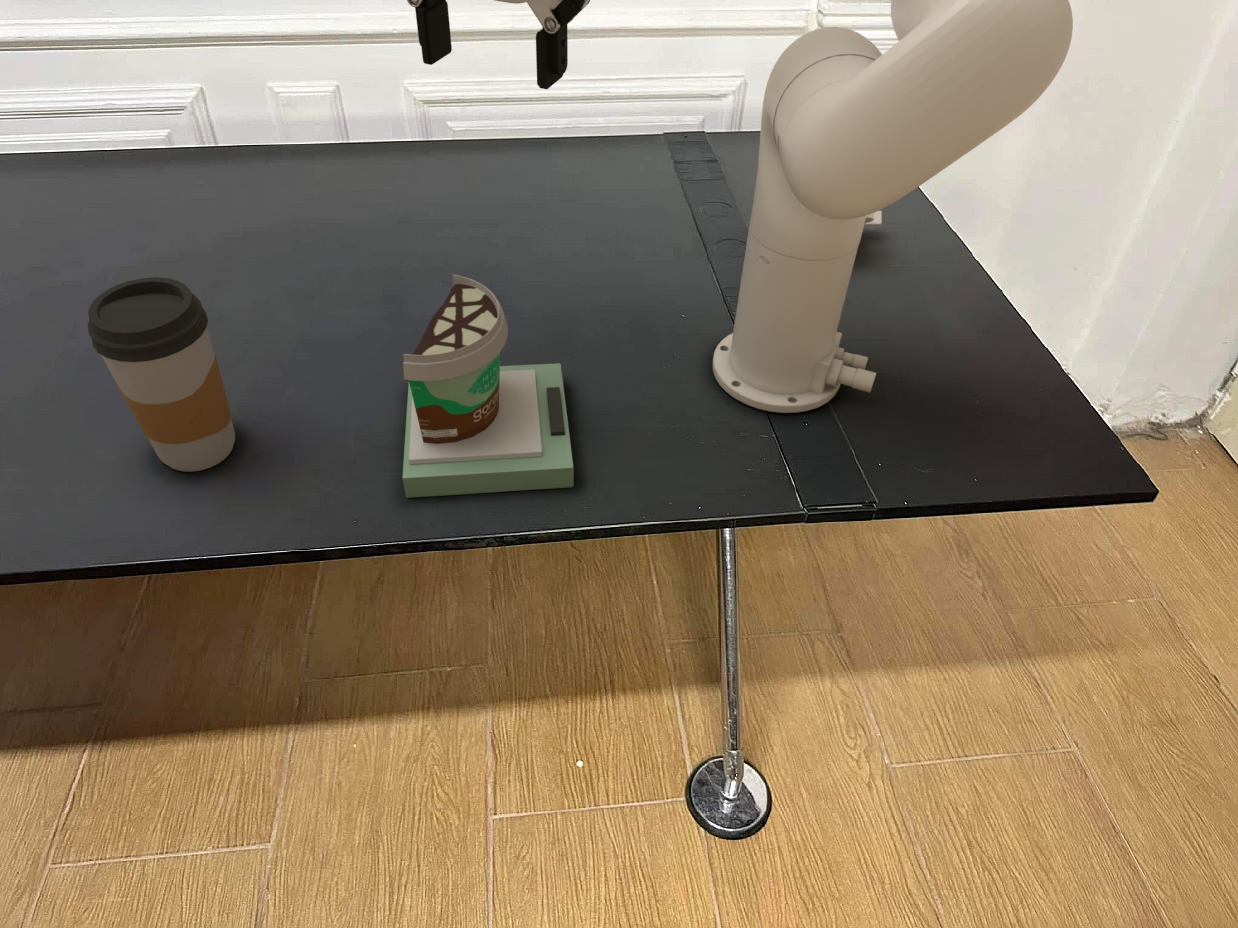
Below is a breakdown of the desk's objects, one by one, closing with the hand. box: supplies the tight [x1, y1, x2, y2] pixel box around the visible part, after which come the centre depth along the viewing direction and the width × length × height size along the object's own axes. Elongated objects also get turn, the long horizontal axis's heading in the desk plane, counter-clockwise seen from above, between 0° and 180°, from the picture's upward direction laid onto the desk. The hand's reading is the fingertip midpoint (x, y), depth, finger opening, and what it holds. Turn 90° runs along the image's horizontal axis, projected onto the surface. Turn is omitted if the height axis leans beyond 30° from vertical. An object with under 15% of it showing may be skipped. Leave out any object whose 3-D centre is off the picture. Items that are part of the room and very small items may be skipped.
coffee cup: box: [87, 276, 236, 473], centre depth 73 cm, size 8×8×15 cm
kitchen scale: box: [401, 362, 575, 499], centre depth 80 cm, size 14×14×3 cm
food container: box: [402, 274, 509, 444], centre depth 75 cm, size 12×6×10 cm, turn 168°
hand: (493, 70), depth 68 cm, fingers open, 9 cm apart
